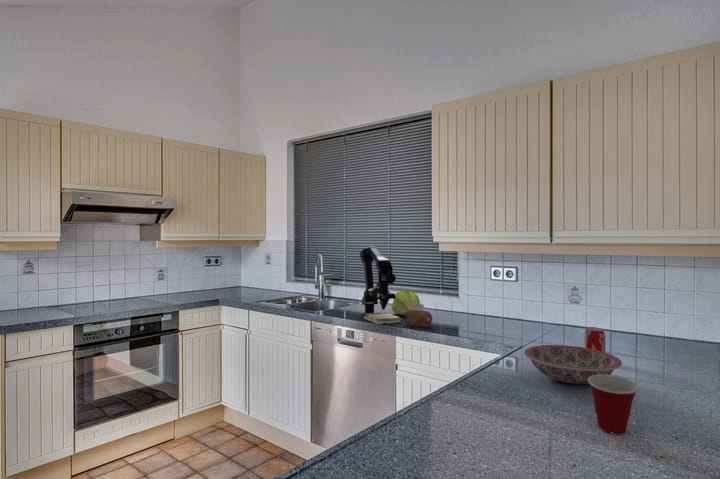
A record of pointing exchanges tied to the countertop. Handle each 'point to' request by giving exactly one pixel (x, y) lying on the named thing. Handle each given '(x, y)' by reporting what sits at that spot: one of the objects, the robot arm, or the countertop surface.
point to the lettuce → (404, 302)
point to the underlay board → (379, 322)
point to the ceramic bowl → (571, 362)
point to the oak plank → (383, 317)
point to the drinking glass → (418, 307)
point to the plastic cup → (612, 401)
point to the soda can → (595, 339)
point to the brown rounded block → (418, 318)
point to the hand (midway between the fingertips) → (383, 309)
